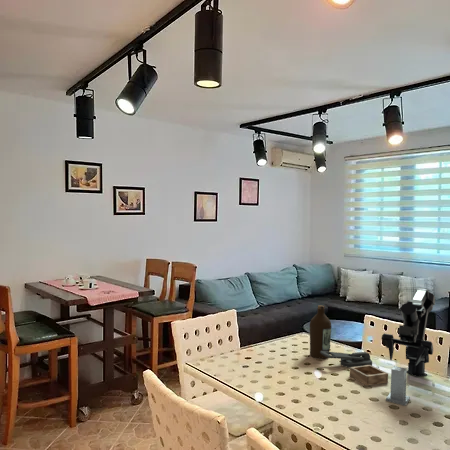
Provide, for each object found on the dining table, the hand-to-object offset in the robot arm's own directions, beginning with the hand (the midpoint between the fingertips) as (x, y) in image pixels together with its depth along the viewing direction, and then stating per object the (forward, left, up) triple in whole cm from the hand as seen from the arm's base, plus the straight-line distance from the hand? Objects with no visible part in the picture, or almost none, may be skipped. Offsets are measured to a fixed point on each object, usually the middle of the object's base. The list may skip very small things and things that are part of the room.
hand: (402, 362), depth 165 cm
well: (+2, -17, -13) cm, 21 cm away
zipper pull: (0, -34, -13) cm, 37 cm away
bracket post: (+5, +3, -13) cm, 14 cm away
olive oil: (+4, -50, -13) cm, 51 cm away
